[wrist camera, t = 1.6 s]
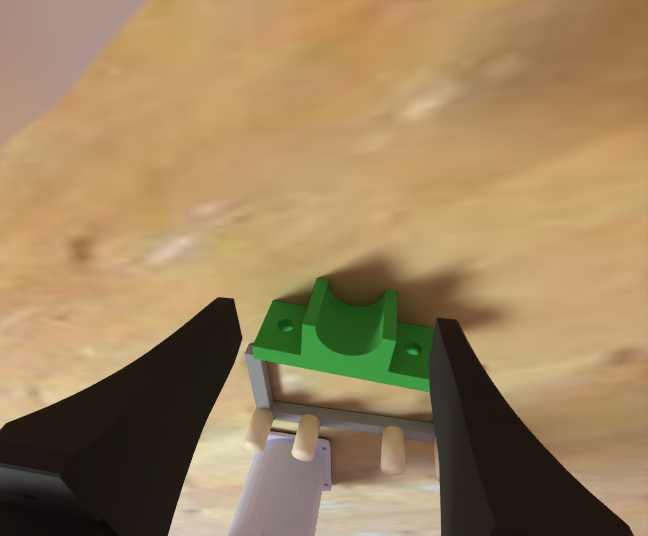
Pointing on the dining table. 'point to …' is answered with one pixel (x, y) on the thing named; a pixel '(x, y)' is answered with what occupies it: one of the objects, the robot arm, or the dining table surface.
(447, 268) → the dining table surface
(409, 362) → the pipe clamp
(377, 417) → the peg cradle
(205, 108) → the dining table surface
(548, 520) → the robot arm
